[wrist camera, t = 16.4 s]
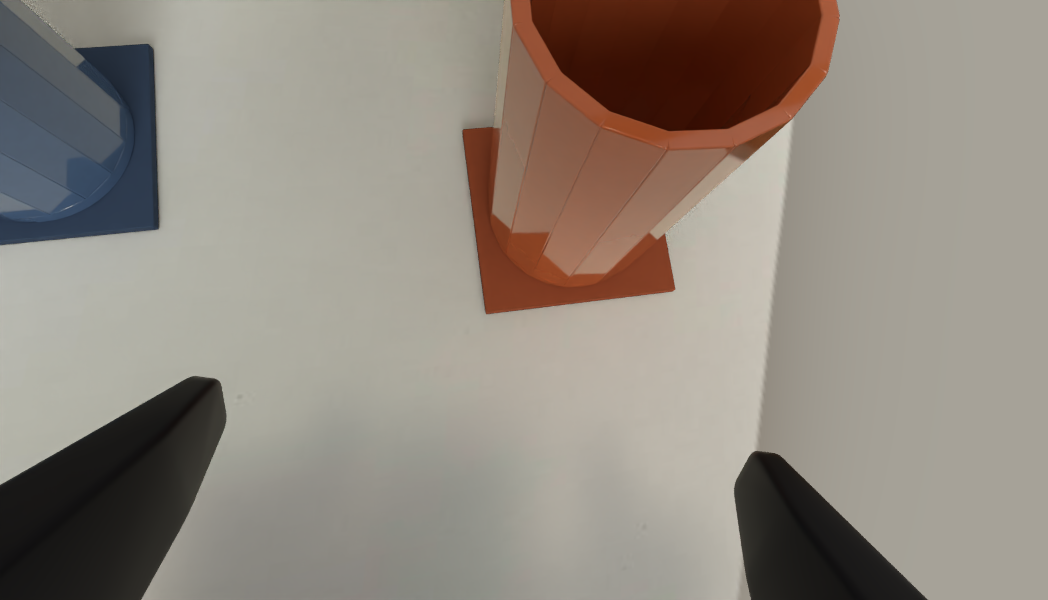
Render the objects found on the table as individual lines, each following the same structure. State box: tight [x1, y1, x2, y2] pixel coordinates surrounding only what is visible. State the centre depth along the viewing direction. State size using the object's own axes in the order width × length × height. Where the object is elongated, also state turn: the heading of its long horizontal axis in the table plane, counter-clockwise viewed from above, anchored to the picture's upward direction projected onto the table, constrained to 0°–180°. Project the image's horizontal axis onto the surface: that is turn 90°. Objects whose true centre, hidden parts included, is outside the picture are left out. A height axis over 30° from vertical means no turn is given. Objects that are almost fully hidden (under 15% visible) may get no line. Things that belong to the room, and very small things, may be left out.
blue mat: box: [0, 44, 158, 245], centre depth 23 cm, size 8×8×1 cm
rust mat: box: [463, 127, 675, 314], centre depth 25 cm, size 8×8×1 cm
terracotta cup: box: [488, 0, 840, 287], centre depth 18 cm, size 7×7×13 cm
